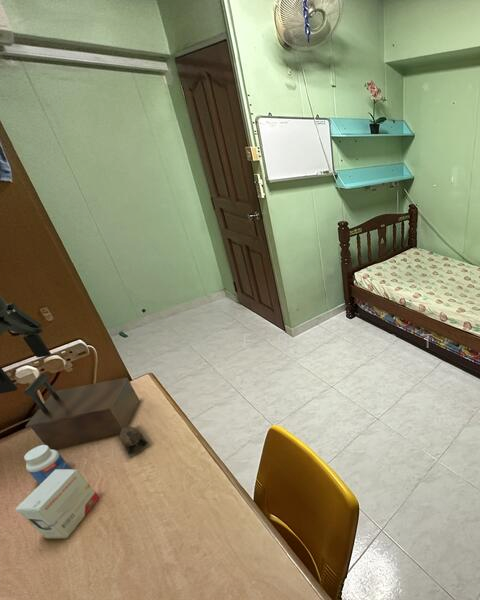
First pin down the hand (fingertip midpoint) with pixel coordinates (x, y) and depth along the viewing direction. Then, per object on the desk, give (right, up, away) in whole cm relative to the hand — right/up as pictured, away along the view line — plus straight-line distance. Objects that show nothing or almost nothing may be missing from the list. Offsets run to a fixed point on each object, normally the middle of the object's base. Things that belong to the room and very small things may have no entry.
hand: (28, 372), depth 78 cm
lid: (+5, -10, +8) cm, 14 cm away
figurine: (+22, -22, +7) cm, 32 cm away
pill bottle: (+8, -26, -1) cm, 27 cm away
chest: (+6, -19, +13) cm, 23 cm away
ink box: (+21, -31, -9) cm, 38 cm away
